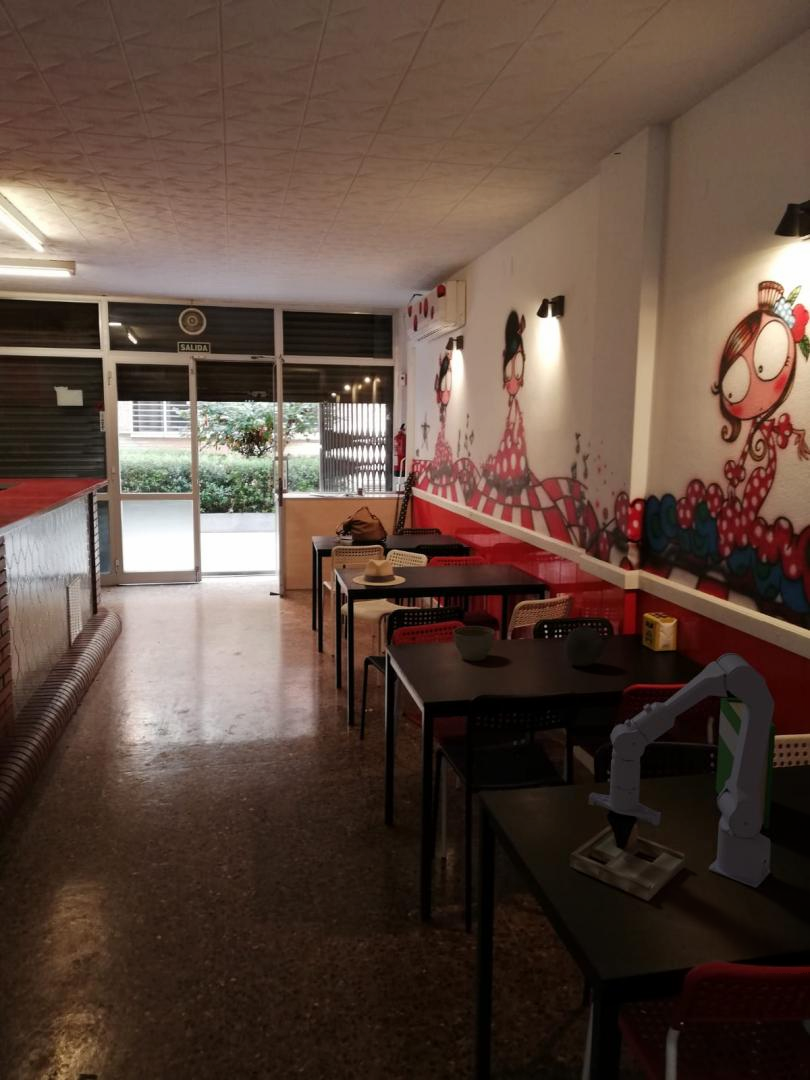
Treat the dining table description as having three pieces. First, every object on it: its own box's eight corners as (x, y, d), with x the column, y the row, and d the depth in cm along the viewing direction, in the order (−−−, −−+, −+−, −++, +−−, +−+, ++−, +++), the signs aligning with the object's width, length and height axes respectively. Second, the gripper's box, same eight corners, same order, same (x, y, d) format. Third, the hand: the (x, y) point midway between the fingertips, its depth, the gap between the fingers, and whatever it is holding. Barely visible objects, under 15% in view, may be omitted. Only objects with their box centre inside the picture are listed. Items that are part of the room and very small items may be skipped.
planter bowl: (450, 652, 312) (450, 626, 310) (489, 651, 313) (489, 625, 312) (456, 664, 296) (457, 637, 294) (498, 663, 298) (498, 635, 296)
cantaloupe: (574, 673, 285) (575, 633, 283) (558, 662, 299) (558, 624, 297) (609, 670, 288) (610, 630, 286) (591, 659, 302) (592, 621, 300)
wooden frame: (684, 866, 158) (685, 854, 158) (647, 901, 147) (648, 887, 146) (609, 837, 170) (609, 825, 170) (570, 866, 158) (570, 853, 158)
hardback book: (768, 828, 173) (775, 726, 170) (733, 826, 175) (740, 724, 171) (747, 792, 191) (753, 699, 187) (715, 790, 192) (721, 697, 188)
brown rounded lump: (641, 848, 161) (642, 830, 161) (619, 850, 160) (620, 832, 160) (629, 836, 166) (630, 818, 166) (608, 838, 165) (609, 820, 165)
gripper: (667, 786, 156) (663, 849, 158) (599, 767, 165) (596, 827, 167) (654, 799, 151) (651, 864, 153) (585, 779, 160) (582, 840, 162)
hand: (621, 846), depth 160 cm, fingers closed
